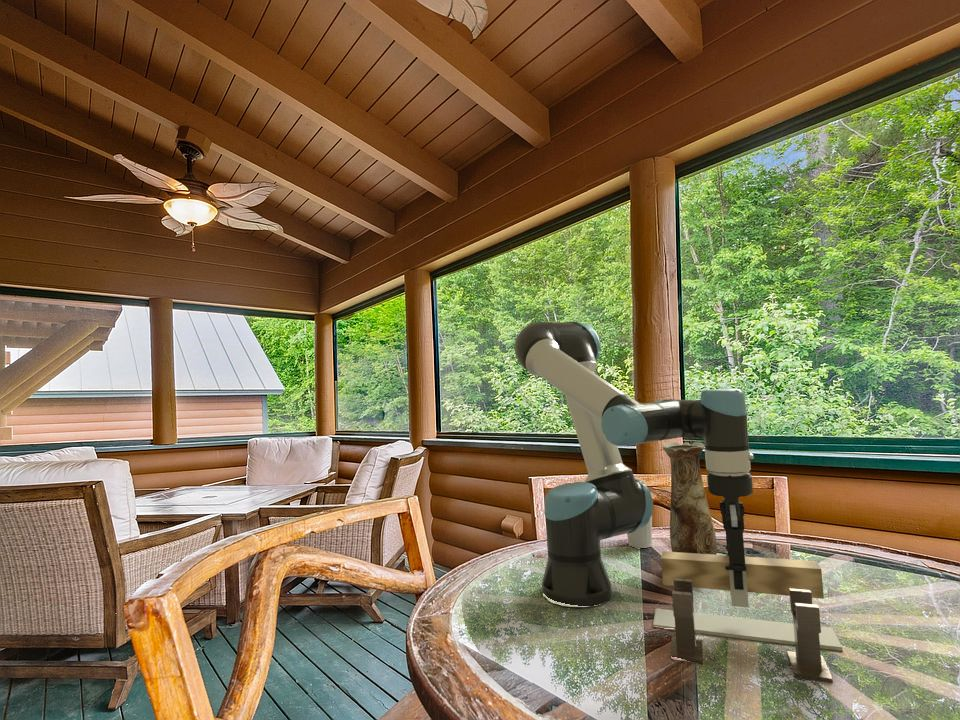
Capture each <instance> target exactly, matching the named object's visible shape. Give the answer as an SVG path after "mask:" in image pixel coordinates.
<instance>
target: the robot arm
mask: <svg viewBox="0 0 960 720" xmlns="http://www.w3.org/2000/svg"><path fill="white" fill-rule="evenodd" d="M600 350H601V341H600V338H599V335H598V333H597V331H596V330H595V329H594V328H593V327H592V326H591V325H589V324H587V323H584V322H578V321H566V322H565V321H559V322H558V321H557V322H556V321H553V322H552V321H537V322H532V323H530V324H528V325H526V326H525V327H523V329H522V330H520V332H519V333H518V335H517V336H516V338H515V342H514V354H515V357H516V359H517V362H518V363H519V364H520V365H521V366H522V368H524V370H525V371H527V372H528V373H529V374H531V375H533V376H535V377H542V378H543V379H544V380H545V381H547V382H548V383H549V384H551V386H553V387H554V388H556V389H557V390H558V391H560V392H561V393H562V394H564V396H565V399H566V403H567V406H568V409H569V412H570V416H571V420H572V422H573V427H574V429H575V434H576V437H577V440H578V444H579V447H580V450H581V454H582V457H583V459H584V464H585V467H586V470H587V476H586V478H585V479H584V481H574V482H572V483H571V482H568V483H567V482H566V483H563V484H558V485H557V486H554V487H552V488H551V489H549V490H548V491H547V492H546V495H545V497H544V511H543V512H544V513H543V515H544V516H545V529H546V534H545V535H546V544H547V545H546V547H547V561H546V565H545V569H544V572H543V577H542V581H541V592H542V591H543V593H544V594H545V595H546V596H547V597H548V598H550V599H552V600H554V601H557V602H561V603H565V604H570V605H578V606H594V605H598V606H600V605H599V604H601V605H603V604H605V603H607V602H608V601H609V600H610V599H611V598H612V593H613V592H612V583H611V580H610V578H609V575H608V572H607V569H606V566H605V564H604V562H603V560H602V551H601V541H603V540H606V539H610V538H614V537H618V536H621V535H625V534H626V535H627V534H628V533H632V532H634V531H636V530H638V529H641V528H643V527H644V526H646V525H647V523H648V522H649V520H650V517H651V516H652V517H653V510H654V501H653V496H652V493H651V491H650V489H649V488H648V486H647V485H646V484H644V482H643V481H642V480H640V479H638V478H635V475H634V473H633V470H632V468H630V467H628V466H627V465H626V464H624V462H623V460H622V456H621V453H620V450H619V447H623V446H626V447H627V446H628V447H632V446H637V445H640V444H641V445H642V444H646V443H652V442H658V441H665V440H671V439H677V438H691V439H692V438H693V439H703V442H704V443H703V444H704V445H705V447H704V456H705V458H704V459H705V469H706V470H707V471H708V473H707V475H706V477H707V478H706V481H707V491H708V492H709V494H711V495H713V496H716V497H723V499H722V501H719V510H720V514H721V520H722V521H721V522H722V526H723V529H724V530H725V539H726V541H725V542H726V545H727V546H726V549H725V550H726V552H727V551H728V553H727V554H726V555H728V556H729V564H730V565H729V566H725V570H729V576H730V589H731V591H729V595H730V597H731V598H730V599H731V606H732V607H740V608H748V609H749V607H750V606H749V592H747V579H746V569H747V568H746V565H745V557H746V554H745V553H744V547H745V543H744V542H745V541H744V532H743V531H745V519H744V518H745V513H746V512H745V506H744V504H743V502H740V501H739V498H741V497H743V498H744V497H749V496H751V495H752V494H753V493H754V486H753V475H752V474H751V473H750V471H751V470H752V469H751V466H752V465H751V461H750V460H753V459H754V458H755V456H754V454H753V453H750V443H749V433H748V431H749V430H748V410H747V406H746V405H747V404H746V400H745V394H744V392H743V391H742V390H741V389H739V388H712V389H704V390H702V391H701V392H700V399H675V398H669V399H659V400H657V401H652V402H643V403H642V402H639V401H637V400H635V399H634V398H632V397H630V396H629V395H628V394H626V393H624V392H622V391H621V390H620V389H618V387H615V386H614V385H612V384H611V383H610V382H608V381H606V380H605V379H604V378H602V377H600V376H599V375H598V374H596V373H595V371H596V369H597V367H598V363H597V361H598V360H599V357H600V355H601V352H600ZM594 607H595V606H594Z"/></svg>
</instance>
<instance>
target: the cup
mask: <svg viewBox="0 0 960 720" xmlns="http://www.w3.org/2000/svg"><path fill="white" fill-rule="evenodd" d="M626 535H627V544H628V543H629V545H631V546H632V547H635V548H647V547H650V546H652V547H653V515H652V516H651V517H650V520H649V522H648V523H647V525H646V526H644V527H643V528H641V529H638V530H636V531H634V532H632V533H628V534H626ZM629 545H628V546H629ZM632 547H631V548H632ZM635 548H634V549H635Z"/></svg>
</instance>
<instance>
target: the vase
mask: <svg viewBox="0 0 960 720" xmlns="http://www.w3.org/2000/svg"><path fill="white" fill-rule="evenodd" d="M661 447H662V448H661V449H663V451H664V453H666V455H667V457H668V458H669V461H670V477H671V478H670V479H671V480H670V482H671V483H670V487H671V488H670V491H671V492H670V508H669V509H670V510H669V511H670V513H669V514H670V515H669V516H670V517H669V538H670V539H669V540H670V549H671V552H681V553H697V554H712V555H718V552H717V550H718V547H717V543H718V542H717V536H716V531H715V526H714V523H713V518H712V515H711V510H710V507H709V503H708V499H707V493H706V490H705V487H704V480H703V477H702V472H701V471H702V470H701V467H700V457H701V455H702V453H703V450H705V444H704V443H703V442H697V441H696V442H693V443H692V444H690V443H688V442H683V443H681V444H680V443H678V442H669V443H665V444H664V445H663V446H661Z"/></svg>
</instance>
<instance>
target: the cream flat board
mask: <svg viewBox="0 0 960 720" xmlns="http://www.w3.org/2000/svg"><path fill="white" fill-rule="evenodd" d="M653 617H654V618H653V622H652V623H653V624H652V627H653V626H658V627H663V628H674V629H675V617H674V614H673V609H664V608H655V611H654V616H653ZM694 623H695V634H703V635H707V636H708V635H710V636H716V637H718V636H719V637H727V638H734V639H742V640H750V641H751V640H752V641H759V642H766V643H775V644H781V645H783V644H784V645H791V646H795V637H794V624H793V623H791V622H783V621H782V622H781V621H773V620H765V619H754V618H745V617H735V616H729V615H727V616H726V615H719V614H718V615H717V614H709V613H700V612H694ZM819 640H820V649H825V650H830V651H831V650H832V651H839V652H843V646H842V644H841V642H840V640H839V638H838V636H837V634H836V633H835V631H834V628H833V627H828V626H821V633H819Z"/></svg>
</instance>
